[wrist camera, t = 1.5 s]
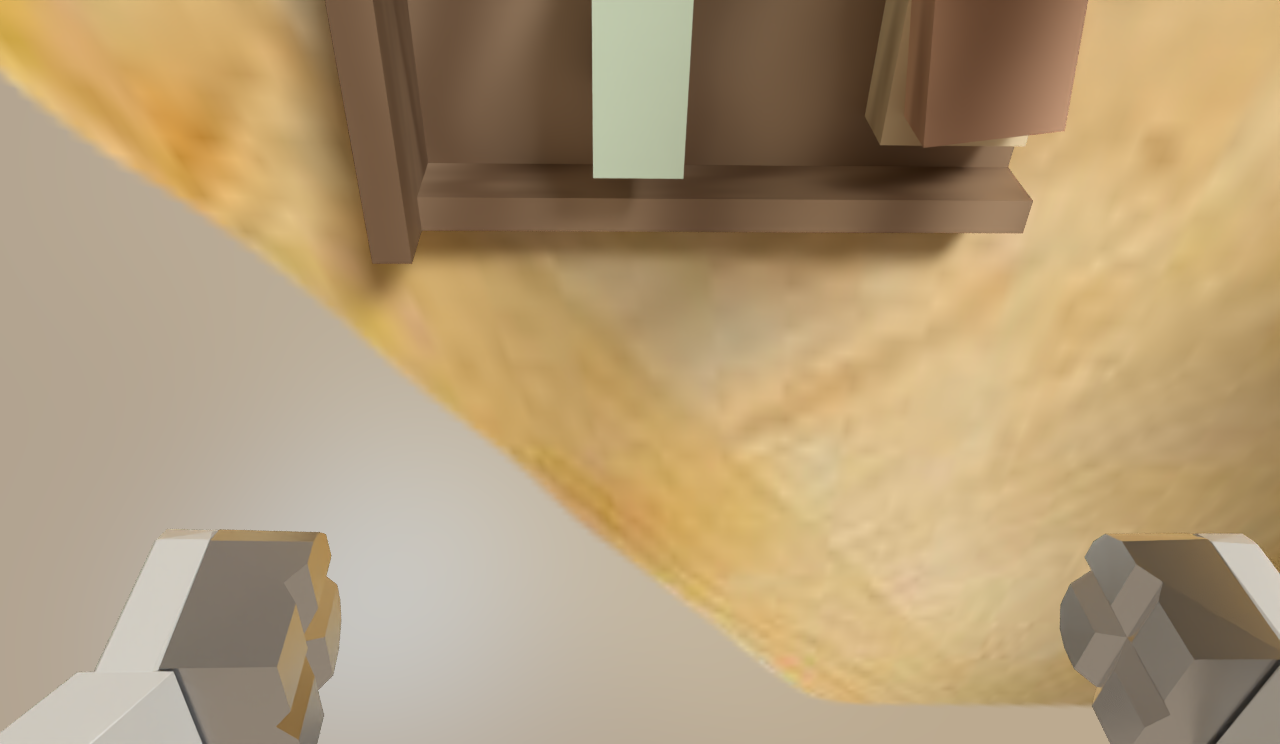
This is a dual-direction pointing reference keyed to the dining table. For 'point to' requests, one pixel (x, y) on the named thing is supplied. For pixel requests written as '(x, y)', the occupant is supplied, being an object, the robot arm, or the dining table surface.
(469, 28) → the tray
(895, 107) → the offcut
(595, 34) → the pale green brick
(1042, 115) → the offcut
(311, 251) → the dining table surface
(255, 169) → the dining table surface
